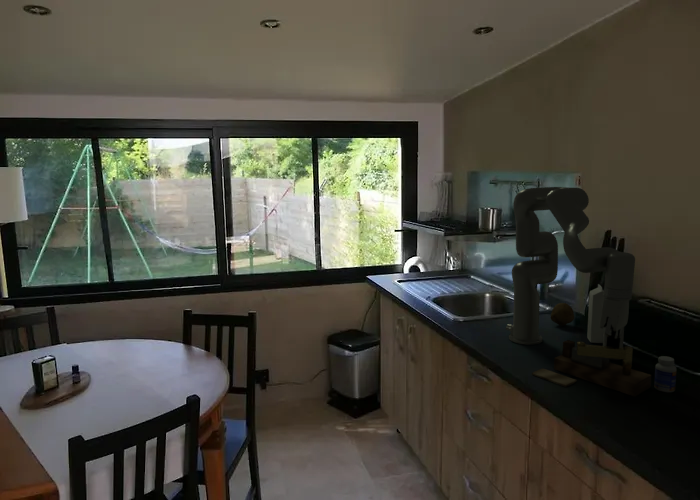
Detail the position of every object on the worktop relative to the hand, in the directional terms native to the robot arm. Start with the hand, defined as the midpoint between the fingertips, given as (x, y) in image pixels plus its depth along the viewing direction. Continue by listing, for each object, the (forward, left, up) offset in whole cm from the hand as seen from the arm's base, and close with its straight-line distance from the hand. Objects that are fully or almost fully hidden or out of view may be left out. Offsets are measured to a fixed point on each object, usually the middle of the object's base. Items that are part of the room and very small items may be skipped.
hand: (612, 349), depth 153 cm
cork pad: (-12, -12, -11) cm, 20 cm away
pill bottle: (+13, +7, -11) cm, 18 cm away
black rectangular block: (-6, -1, -7) cm, 9 cm away
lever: (-1, -4, -7) cm, 8 cm away
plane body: (-3, 0, -11) cm, 11 cm away
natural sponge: (-39, +38, -11) cm, 56 cm away
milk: (-21, +32, -11) cm, 40 cm away
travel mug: (-9, +20, -11) cm, 25 cm away
